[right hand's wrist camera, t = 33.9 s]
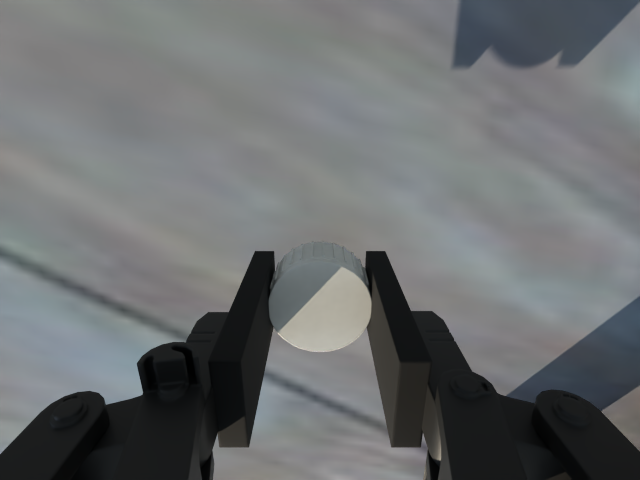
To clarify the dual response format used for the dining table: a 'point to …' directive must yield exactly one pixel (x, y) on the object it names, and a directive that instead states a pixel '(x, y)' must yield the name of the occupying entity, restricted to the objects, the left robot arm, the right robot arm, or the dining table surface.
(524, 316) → the dining table surface
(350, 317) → the cap
